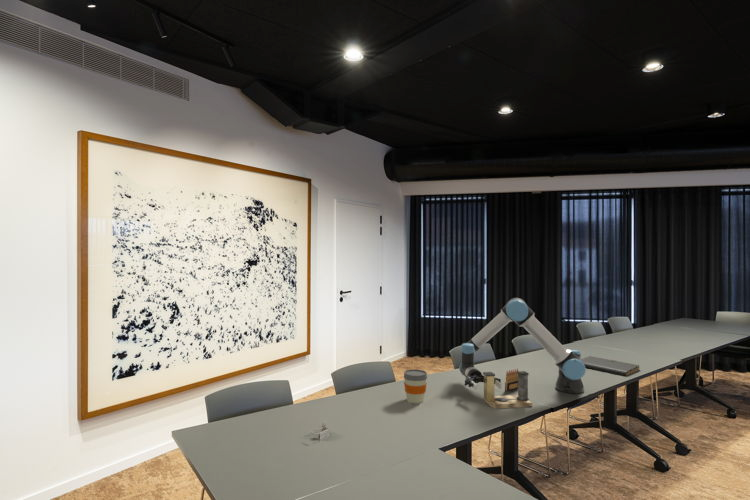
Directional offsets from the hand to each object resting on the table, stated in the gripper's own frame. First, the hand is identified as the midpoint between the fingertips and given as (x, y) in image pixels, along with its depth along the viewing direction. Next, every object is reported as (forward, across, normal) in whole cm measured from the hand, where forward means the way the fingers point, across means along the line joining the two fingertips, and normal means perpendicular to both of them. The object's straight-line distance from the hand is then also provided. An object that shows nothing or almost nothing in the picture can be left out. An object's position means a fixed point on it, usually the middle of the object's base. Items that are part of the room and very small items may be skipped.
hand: (488, 386), depth 219 cm
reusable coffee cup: (-11, +37, -10) cm, 40 cm away
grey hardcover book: (-58, -111, -10) cm, 125 cm away
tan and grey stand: (-1, -11, -9) cm, 14 cm away
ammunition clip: (-21, -23, -10) cm, 33 cm away
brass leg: (-1, 0, -7) cm, 7 cm away
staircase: (+28, +88, -10) cm, 93 cm away
